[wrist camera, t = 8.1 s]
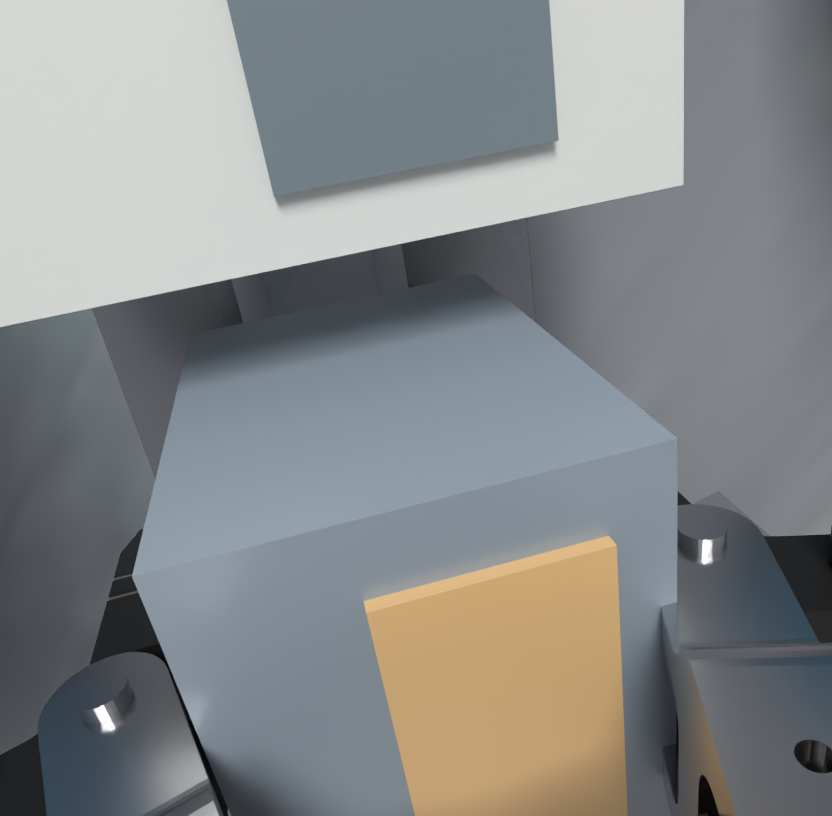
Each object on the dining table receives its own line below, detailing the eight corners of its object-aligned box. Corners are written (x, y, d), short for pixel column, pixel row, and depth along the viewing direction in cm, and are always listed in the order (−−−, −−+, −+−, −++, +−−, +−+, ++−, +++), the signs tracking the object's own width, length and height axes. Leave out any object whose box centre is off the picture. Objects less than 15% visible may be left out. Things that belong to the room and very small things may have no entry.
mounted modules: (451, -279, 12) (698, -739, 5) (553, 694, 21) (684, 958, 15) (-78, -216, 11) (-586, -683, 4) (279, 774, 20) (291, 1094, 14)
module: (475, 273, 11) (687, 445, 6) (511, 571, 14) (681, 885, 8) (181, 336, 11) (108, 593, 5) (276, 635, 13) (294, 1016, 8)
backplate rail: (450, -233, 13) (482, -286, 11) (544, 642, 23) (570, 692, 21) (-51, -169, 12) (-106, -216, 10) (266, 722, 22) (267, 781, 20)
